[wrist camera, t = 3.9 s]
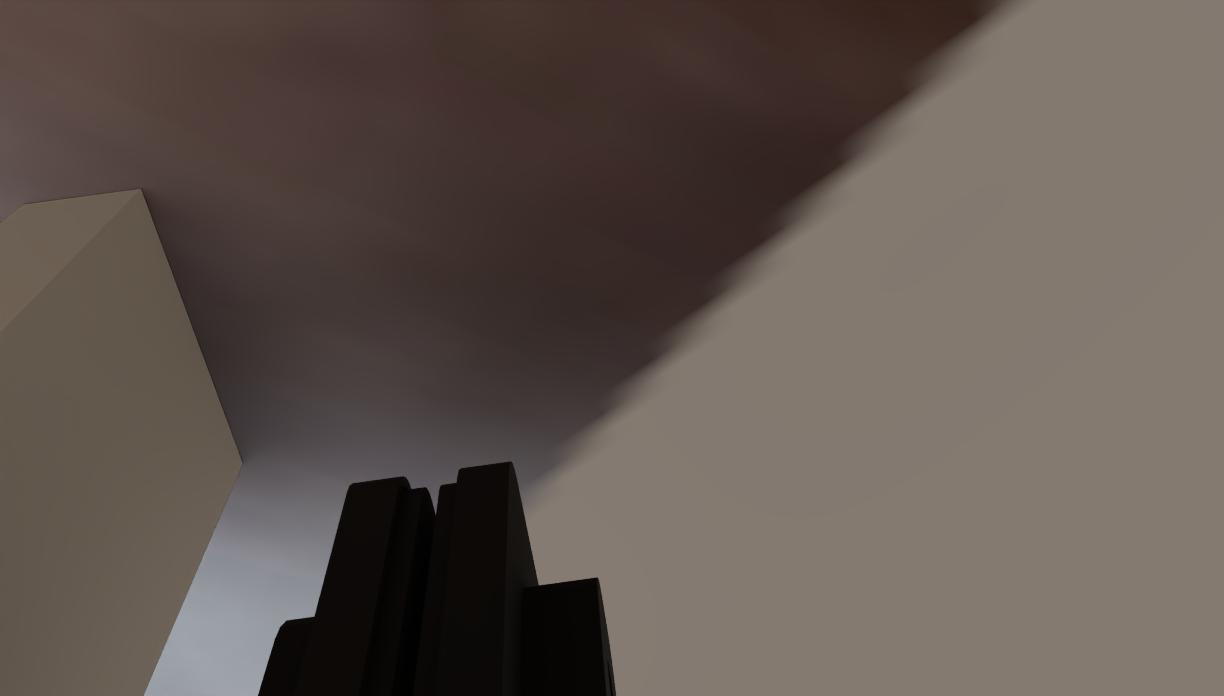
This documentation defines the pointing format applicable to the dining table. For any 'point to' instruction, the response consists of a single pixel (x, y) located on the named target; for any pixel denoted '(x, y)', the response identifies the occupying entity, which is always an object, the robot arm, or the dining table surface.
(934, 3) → the dining table surface
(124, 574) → the tile
